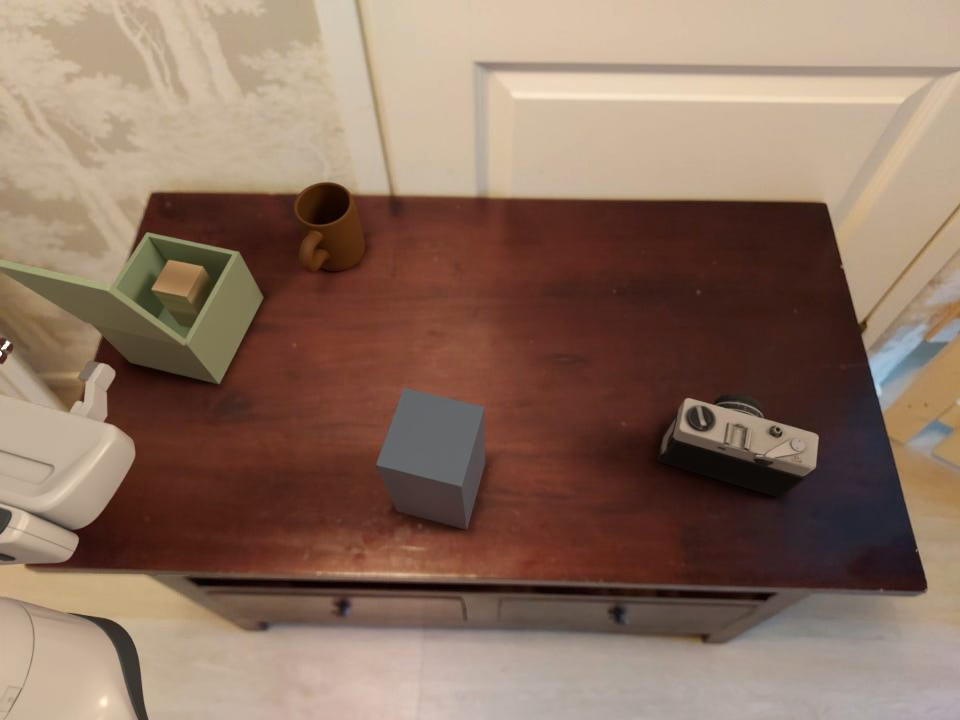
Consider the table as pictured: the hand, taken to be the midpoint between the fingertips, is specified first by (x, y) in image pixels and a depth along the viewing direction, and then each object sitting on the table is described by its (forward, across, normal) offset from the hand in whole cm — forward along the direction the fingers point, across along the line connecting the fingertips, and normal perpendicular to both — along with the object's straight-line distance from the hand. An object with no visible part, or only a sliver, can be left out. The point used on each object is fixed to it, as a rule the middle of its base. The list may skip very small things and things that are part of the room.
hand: (51, 352), depth 52 cm
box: (+17, -7, -26) cm, 31 cm away
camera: (+18, +59, -26) cm, 67 cm away
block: (+19, -7, -25) cm, 32 cm away
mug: (+31, +6, -26) cm, 41 cm away
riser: (+5, +29, -26) cm, 39 cm away
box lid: (+9, -7, -9) cm, 14 cm away
